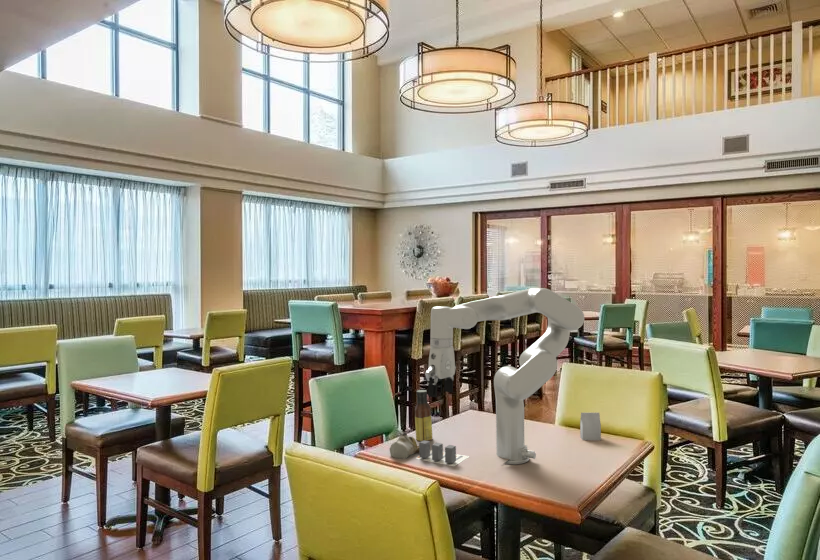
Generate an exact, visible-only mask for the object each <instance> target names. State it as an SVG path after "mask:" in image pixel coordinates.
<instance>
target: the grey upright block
mask: <svg viewBox="0 0 820 560" xmlns="http://www.w3.org/2000/svg"><path fill="white" fill-rule="evenodd" d="M600 415H601V414H600V412H580V420H579V424H580V425H579V427H580V429H579V433H580V435H579V437H580V439H581V440H582V441H601V440H602V431H601V430H602V429H601V428H602V425H601V424H602V423H601V416H600Z"/></svg>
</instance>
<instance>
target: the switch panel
mask: <svg viewBox="0 0 820 560" xmlns="http://www.w3.org/2000/svg"><path fill="white" fill-rule="evenodd" d="M468 458H470V456H469V455H464V454H458V453H456V461H455V462H454V463H452V464H451V463H446V462H445V451H443V459H441V460H439V461H435V460H432V449H430V456H429V457H427V458H426V459H425V458H420V457H419V455H418V456H417V457H415V458H414V459H415V460H419V461H426V462H429V463H435V464H440V465H444V466H445V465H446V466H448V467H449V466H450V467H456V466H457V465H458V464H461V462H464V461H466V460H467V459H468Z"/></svg>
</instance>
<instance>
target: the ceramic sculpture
mask: <svg viewBox="0 0 820 560" xmlns="http://www.w3.org/2000/svg"><path fill="white" fill-rule="evenodd" d="M389 454H390V456H391V457H393V458H396V459H408V458H409V456H411V455H414V454H419V445H418V444H417V440H416V438H415V437H413V436H411V435H408V434H407V433H406V432H405V433H404V432H403V434H401V435H400V436H399V437H398V439H397V441H394V442H393V443H392V444H391V445H390V447H389Z"/></svg>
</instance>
